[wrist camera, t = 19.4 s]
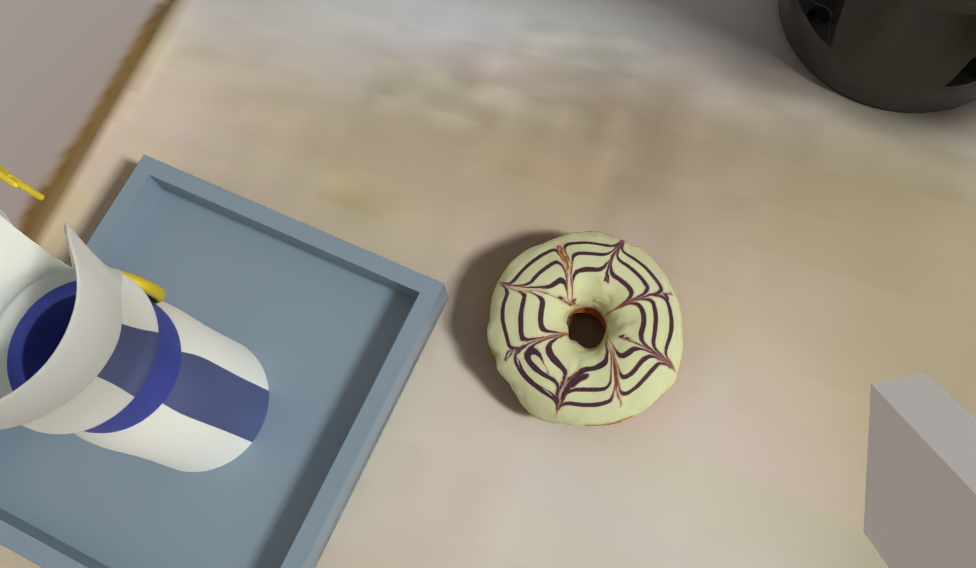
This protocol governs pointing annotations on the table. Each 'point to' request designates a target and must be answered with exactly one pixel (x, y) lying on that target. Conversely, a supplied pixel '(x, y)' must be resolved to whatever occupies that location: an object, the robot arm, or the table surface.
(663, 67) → the table surface
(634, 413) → the decorated donut
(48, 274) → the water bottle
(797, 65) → the table surface
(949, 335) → the table surface
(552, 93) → the table surface
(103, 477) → the blue-gray tray
